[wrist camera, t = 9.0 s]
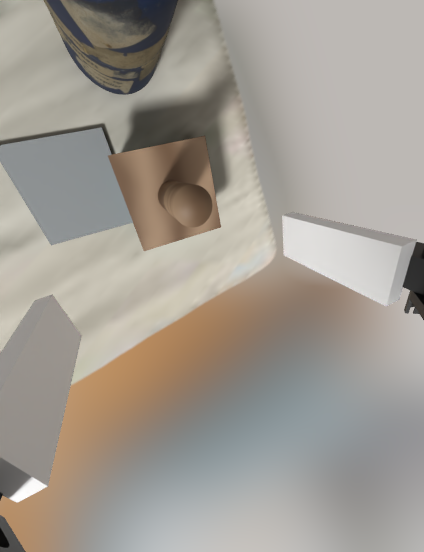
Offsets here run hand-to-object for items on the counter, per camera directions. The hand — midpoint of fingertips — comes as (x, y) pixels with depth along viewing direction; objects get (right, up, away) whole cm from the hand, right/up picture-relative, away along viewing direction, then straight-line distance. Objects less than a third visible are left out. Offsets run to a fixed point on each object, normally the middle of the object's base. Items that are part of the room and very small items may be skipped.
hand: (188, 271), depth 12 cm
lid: (-4, +10, +15) cm, 19 cm away
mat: (-16, +11, +16) cm, 25 cm away
